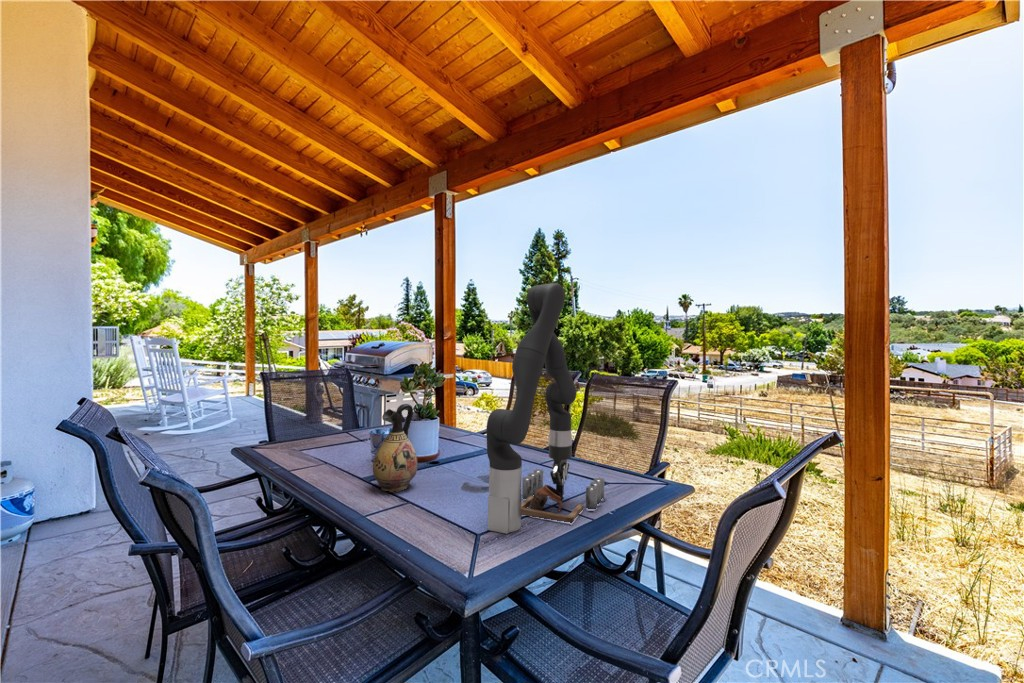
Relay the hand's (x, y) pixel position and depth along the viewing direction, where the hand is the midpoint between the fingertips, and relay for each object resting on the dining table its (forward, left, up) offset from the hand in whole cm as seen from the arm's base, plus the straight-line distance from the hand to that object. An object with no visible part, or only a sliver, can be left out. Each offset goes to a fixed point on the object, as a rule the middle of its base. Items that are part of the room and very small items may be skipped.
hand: (559, 495), depth 146 cm
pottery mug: (-8, +2, -3) cm, 8 cm away
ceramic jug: (-12, +57, -3) cm, 58 cm away
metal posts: (+4, 0, -3) cm, 5 cm away
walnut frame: (-9, 0, -3) cm, 10 cm away
